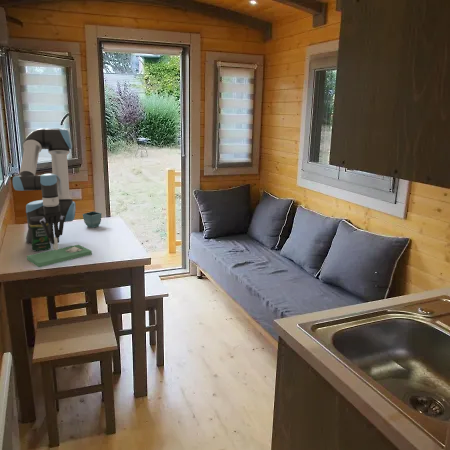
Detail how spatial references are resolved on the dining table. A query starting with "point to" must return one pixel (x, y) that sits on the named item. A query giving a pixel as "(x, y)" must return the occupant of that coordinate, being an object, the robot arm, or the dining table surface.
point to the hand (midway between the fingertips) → (55, 249)
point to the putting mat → (58, 255)
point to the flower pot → (92, 219)
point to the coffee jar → (39, 234)
